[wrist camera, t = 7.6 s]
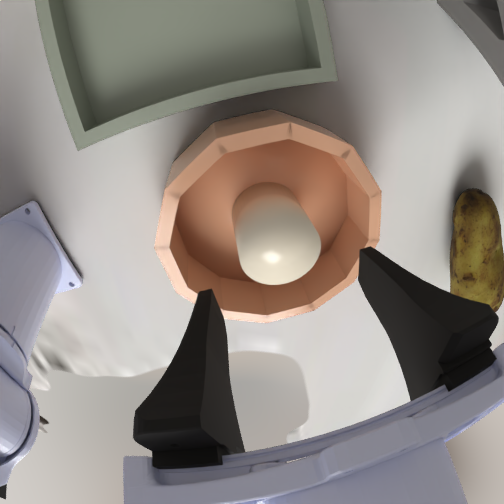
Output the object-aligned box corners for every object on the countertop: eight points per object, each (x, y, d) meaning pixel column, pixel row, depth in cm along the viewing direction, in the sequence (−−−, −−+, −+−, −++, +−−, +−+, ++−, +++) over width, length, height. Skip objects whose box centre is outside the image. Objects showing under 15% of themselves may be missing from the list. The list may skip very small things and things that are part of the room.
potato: (497, 182, 21) (551, 225, 15) (459, 280, 29) (495, 327, 22) (448, 177, 20) (513, 228, 14) (409, 291, 28) (447, 348, 21)
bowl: (199, 298, 24) (201, 338, 20) (137, 146, 16) (119, 169, 13) (353, 258, 24) (374, 292, 20) (345, 98, 16) (379, 109, 13)
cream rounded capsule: (241, 248, 20) (250, 293, 17) (223, 192, 18) (229, 230, 14) (302, 231, 20) (323, 272, 17) (293, 174, 18) (316, 207, 14)
